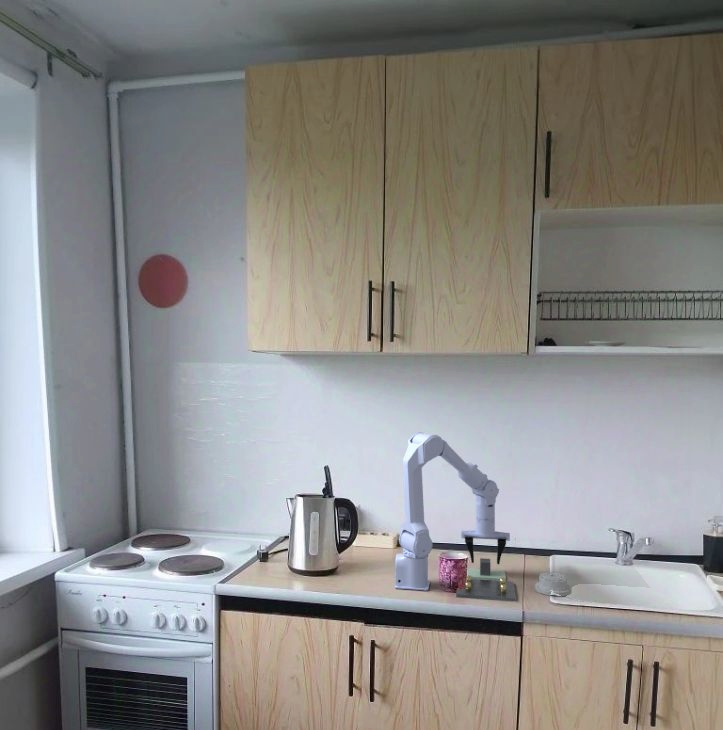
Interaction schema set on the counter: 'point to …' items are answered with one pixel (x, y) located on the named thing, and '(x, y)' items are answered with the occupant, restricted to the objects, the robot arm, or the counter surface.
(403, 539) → the robot arm
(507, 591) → the plate
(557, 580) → the mechanical component
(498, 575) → the circuit board
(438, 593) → the counter surface
